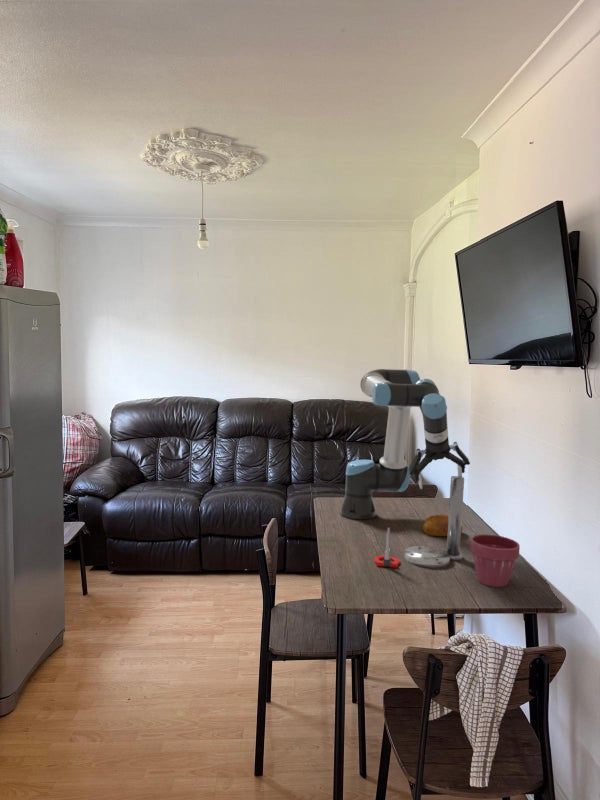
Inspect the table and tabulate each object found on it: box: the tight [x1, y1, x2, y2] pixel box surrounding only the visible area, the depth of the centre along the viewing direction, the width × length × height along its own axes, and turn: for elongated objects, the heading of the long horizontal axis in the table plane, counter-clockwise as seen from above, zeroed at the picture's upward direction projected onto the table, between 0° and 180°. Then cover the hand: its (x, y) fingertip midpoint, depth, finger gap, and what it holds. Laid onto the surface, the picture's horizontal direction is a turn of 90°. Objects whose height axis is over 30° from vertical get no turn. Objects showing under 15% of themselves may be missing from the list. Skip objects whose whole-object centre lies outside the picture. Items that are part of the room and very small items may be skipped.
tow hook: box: [373, 527, 401, 569], centre depth 187 cm, size 8×13×9 cm
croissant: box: [422, 514, 463, 537], centre depth 223 cm, size 14×16×8 cm
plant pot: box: [469, 533, 521, 588], centre depth 175 cm, size 14×14×13 cm
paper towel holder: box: [404, 475, 465, 569], centre depth 192 cm, size 15×21×28 cm
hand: (440, 483), depth 198 cm, fingers open, 13 cm apart
